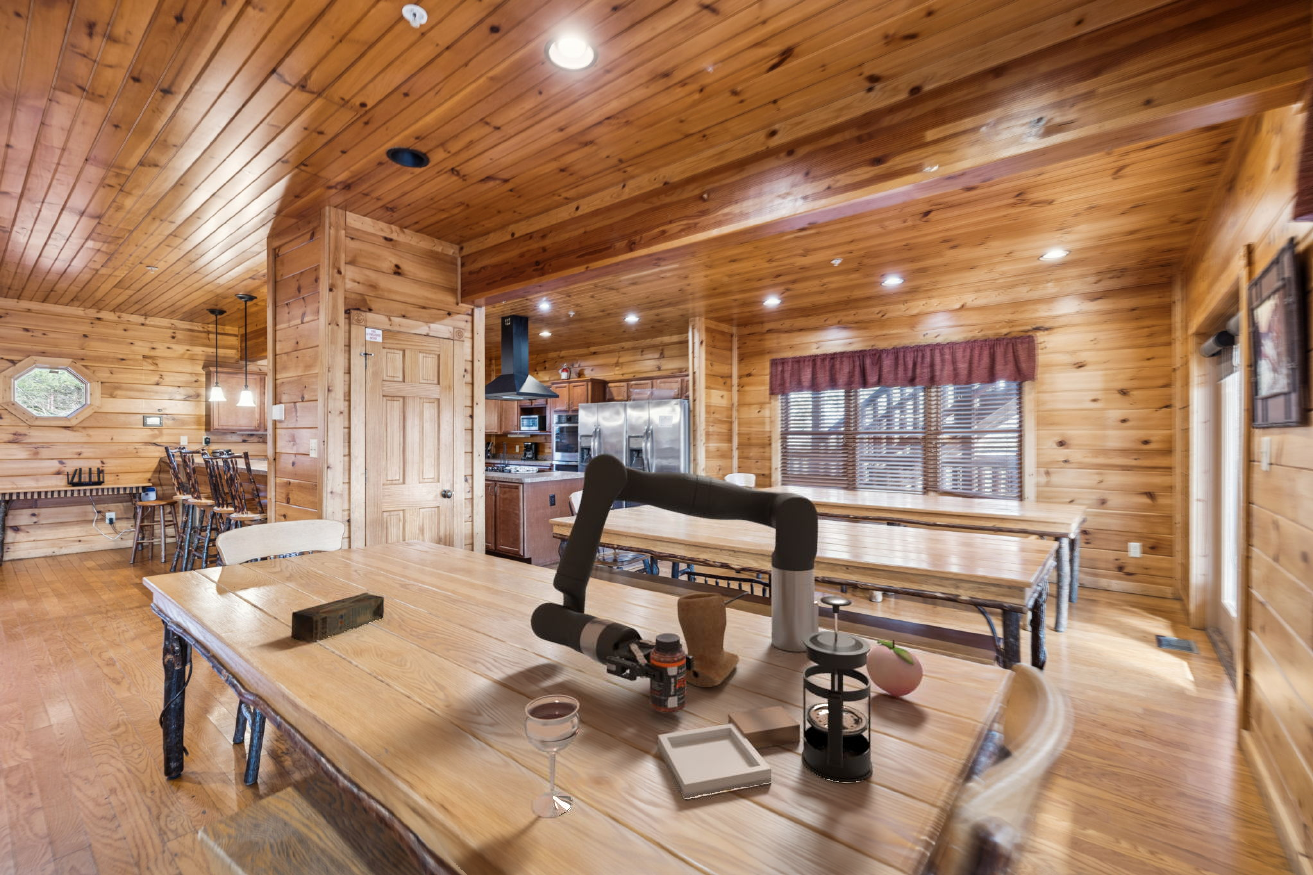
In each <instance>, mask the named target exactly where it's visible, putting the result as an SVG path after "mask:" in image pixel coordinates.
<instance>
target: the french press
mask: <svg viewBox="0 0 1313 875" xmlns="http://www.w3.org/2000/svg"><path fill="white" fill-rule="evenodd" d="M820 602H821V603H822V604H824V605H827V606H831V607H832V613H833V614H834V631H832V630H831V631H829V630H828V631H827V630H826V631H818V632H814V633H810V634H807V635H806V636H804V638H803V643H804V645H805V646H806V651H805V652H806V655H805V656H806V657H807V659H808V660H810V662H812V663H814V665H811V666H808V667H806V668H805V669H804V671H802V672H803V674H802V675H803V676H802V677H803V678H802V684H803V685H802V688H803V689H802V692H803V693H802V694H803V695H802V696H803V697H802V700H803V701H802V703H803V704H802V707H803V708H802V709H803V710H802V712H803V714H802V717H803V719H802V722H803V723H802V725H803V728H802V729H803V732H802V736H803V738H802V739H803V744H802V745H803V750H802V752H801V760H802V763H803V765H804V766H805V768H806V769H807V770H808V771H809V770H810V771H811V773H812V772H813V773H814V775H815V774H816V775H815V776H817V775H818V776H817V777H819V776H820V777H819V778H821V779H823V778H825V779H824V780H826V779H830V780H833V781H839V782H856V781H862V780H864V781H866V780H868V777H869V776H870V777H871V775H872V774H871V773H873V768H874V767H873V762H872V759H871V758H872V757H871V754H872V753H871V752H872V751H871V750H872V748H871V746H872V742H871V741H872V740H871V738H872V737H871V734H872V733H871V732H872V731H871V729H872V728H871V727H872V725H871V723H872V720H871V718H872V717H871V715H872V714H871V713H872V712H871V704H872V703H871V701H872V700H871V678H870V677H868V675H867V674H865V673H863V672H862V671H860V670H858V669H860V668H863V667H864V666H866V663H867V656H868V654H869V652H870V651H871V645H870V643H869V642H868V641H867V640H866V639H864V638H862V637H860V636H857V635H854V634H850V633H845V632H839V631H838V614H840V607H847V606H850V605H852V604H853V602H852V600H850V599H849V598H846V597H842V596H837V595H829V596H822V597H821V598H820ZM822 674H824V675H825V674H827V675H828V674H830V689H829V688H826V687H822V686H819V685H817V684H815V683H813V682H811V681H810V680H809V679H808V678H810V677H812V676H815V675H822ZM844 676H846V677H849V678H851V679H854V680H857V681H859V682H860V683H862V684H863V685H864V686H865V687H863V688H860V689H856V690H849V691H847V690H844ZM806 690H807V691H808V693H809V692H810V693H811V694H813V695H815V696H817V697H819V698H822V699H826V700H827V702H821V703H820V702H819V703H814V704H812V705H809V706H808V707H807V708H806V706H807V705H806V700H807V698H806V697H807V696H806V695H807V694H806V693H807V692H806ZM865 699H868V700H867V701H868V703H867V704H868V706H867V709H868V711H867V712H868V713H867V716H868V717H867V716H866V715H865V714H864V713H863V712H861V711H859V710H858V709H856V708H854V707H851V706H849V705H845V704H844V702H845V703H848V702H849V703H850V702H858V701H859V702H860V701H862V700H865ZM806 721H807V722H806ZM807 723H808V724H809V726H808V727H806V725H807ZM866 731H867V732H868V733H867V734H868V735H867V736H868V737H867V736H866V735H865V734H864V733H866ZM822 748H827V752H823V751H821V750H819V749H822ZM843 750H844V751H847V752H850V753H851V754H853V755H854V756H853V755H852V756H843V754H844V753H843ZM810 771H809V772H810ZM813 773H812V774H813ZM870 777H869V778H870ZM865 779H866V780H865ZM862 782H863V781H862Z"/></svg>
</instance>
